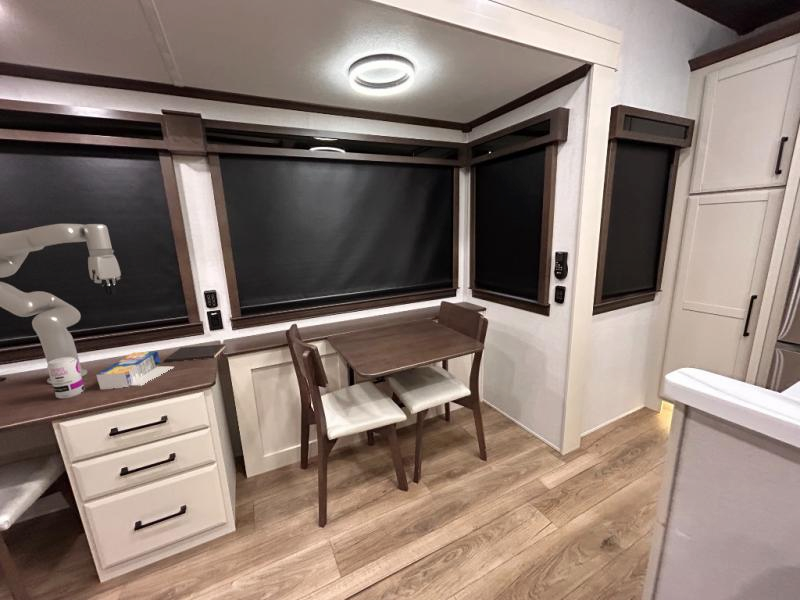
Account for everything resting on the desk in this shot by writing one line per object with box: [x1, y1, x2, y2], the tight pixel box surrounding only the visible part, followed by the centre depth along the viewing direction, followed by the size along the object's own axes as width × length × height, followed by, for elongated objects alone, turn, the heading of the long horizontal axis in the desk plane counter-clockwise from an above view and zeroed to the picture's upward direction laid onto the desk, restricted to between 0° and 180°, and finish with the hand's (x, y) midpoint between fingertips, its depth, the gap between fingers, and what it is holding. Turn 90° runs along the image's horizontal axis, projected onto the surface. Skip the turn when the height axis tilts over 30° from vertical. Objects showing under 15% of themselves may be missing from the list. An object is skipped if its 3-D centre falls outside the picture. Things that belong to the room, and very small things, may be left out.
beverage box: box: [96, 350, 162, 390], centre depth 141 cm, size 7×11×22 cm
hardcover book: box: [164, 343, 226, 363], centre depth 165 cm, size 16×23×2 cm
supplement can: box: [46, 357, 86, 400], centre depth 125 cm, size 8×8×15 cm
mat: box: [130, 365, 175, 387], centre depth 142 cm, size 18×18×1 cm
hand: (111, 294), depth 140 cm, fingers closed
